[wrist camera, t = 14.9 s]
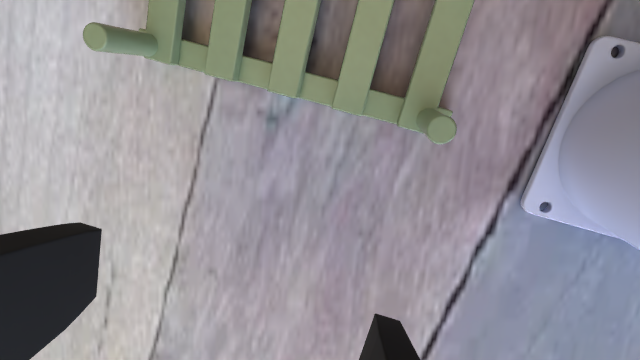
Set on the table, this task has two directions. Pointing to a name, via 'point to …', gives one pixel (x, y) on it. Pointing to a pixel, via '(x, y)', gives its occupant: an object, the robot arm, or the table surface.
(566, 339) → the table surface
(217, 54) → the rack
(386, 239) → the table surface
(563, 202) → the robot arm
